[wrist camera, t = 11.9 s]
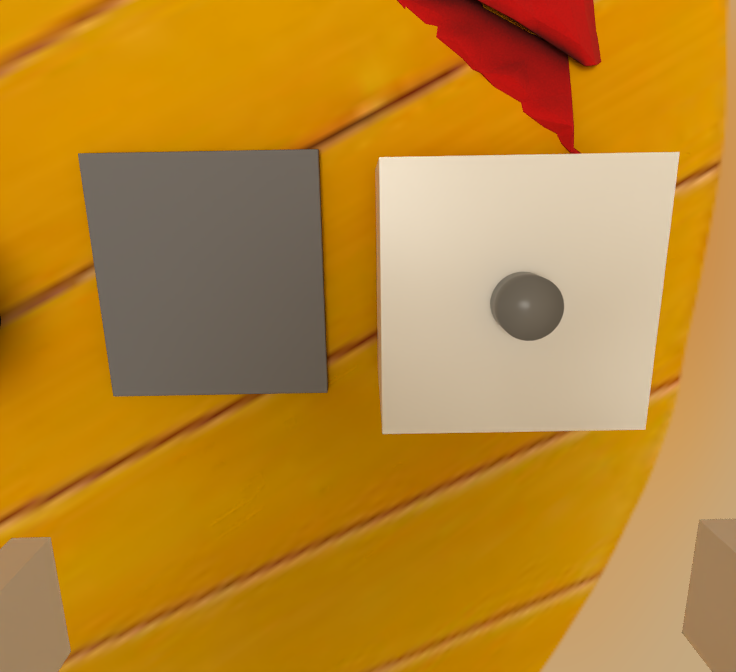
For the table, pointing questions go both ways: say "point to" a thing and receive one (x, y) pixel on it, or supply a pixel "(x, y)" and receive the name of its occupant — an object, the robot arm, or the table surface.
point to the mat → (209, 270)
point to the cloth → (521, 49)
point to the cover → (520, 290)
